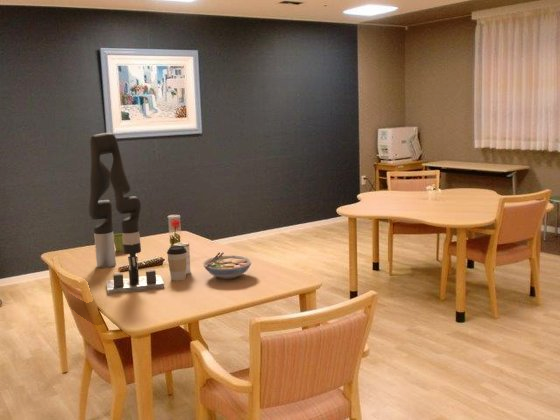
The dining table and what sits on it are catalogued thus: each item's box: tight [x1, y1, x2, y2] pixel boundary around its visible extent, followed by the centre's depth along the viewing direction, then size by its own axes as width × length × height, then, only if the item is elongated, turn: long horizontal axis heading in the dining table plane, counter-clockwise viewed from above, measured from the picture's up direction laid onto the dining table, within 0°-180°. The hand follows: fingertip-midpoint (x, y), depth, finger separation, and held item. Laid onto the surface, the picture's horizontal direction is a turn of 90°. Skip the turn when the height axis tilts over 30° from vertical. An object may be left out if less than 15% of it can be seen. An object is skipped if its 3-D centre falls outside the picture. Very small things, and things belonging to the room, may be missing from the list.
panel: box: [106, 274, 165, 296], centre depth 263 cm, size 14×24×2 cm, turn 108°
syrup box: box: [172, 241, 192, 275], centre depth 280 cm, size 6×6×14 cm
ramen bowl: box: [202, 252, 253, 280], centre depth 273 cm, size 25×23×8 cm
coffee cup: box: [166, 245, 187, 281], centre depth 273 cm, size 9×9×15 cm
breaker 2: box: [145, 269, 157, 283], centre depth 262 cm, size 2×4×5 cm, turn 108°
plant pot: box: [113, 233, 123, 253], centre depth 327 cm, size 9×9×9 cm
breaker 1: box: [112, 272, 124, 287], centre depth 258 cm, size 2×4×5 cm, turn 108°
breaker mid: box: [128, 267, 140, 281], centre depth 266 cm, size 2×4×6 cm, turn 108°
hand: (134, 280), depth 262 cm, fingers closed
